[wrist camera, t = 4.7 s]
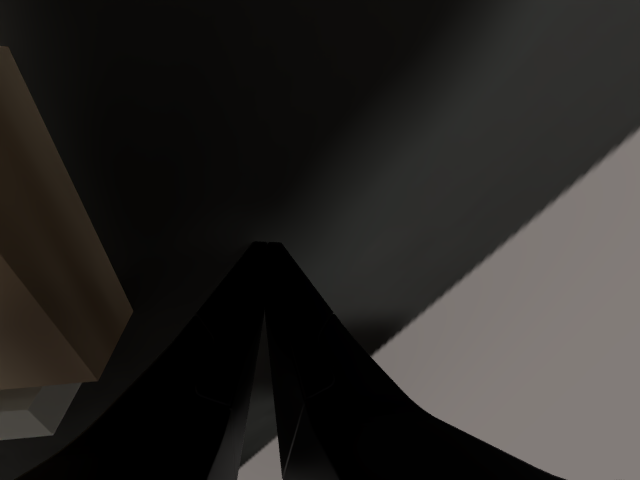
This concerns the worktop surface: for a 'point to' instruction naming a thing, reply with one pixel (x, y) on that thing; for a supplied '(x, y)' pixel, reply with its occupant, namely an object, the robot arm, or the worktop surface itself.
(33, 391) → the canopy channel
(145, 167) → the worktop surface
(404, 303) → the worktop surface
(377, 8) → the worktop surface
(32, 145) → the tan wooden block
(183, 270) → the worktop surface
